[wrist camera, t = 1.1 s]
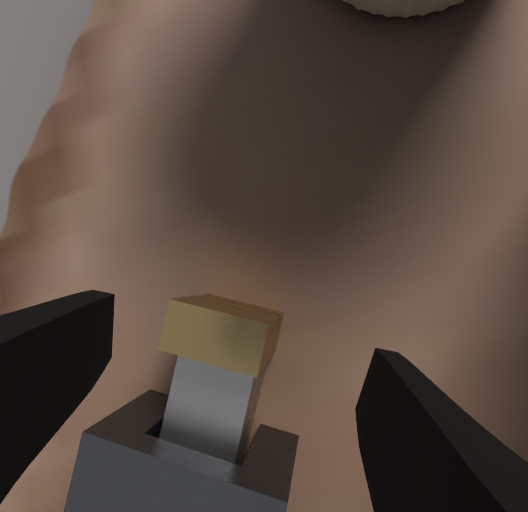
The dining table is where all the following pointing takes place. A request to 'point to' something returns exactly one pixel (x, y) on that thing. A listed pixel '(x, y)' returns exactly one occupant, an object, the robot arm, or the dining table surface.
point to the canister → (402, 6)
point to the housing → (174, 468)
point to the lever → (216, 372)
